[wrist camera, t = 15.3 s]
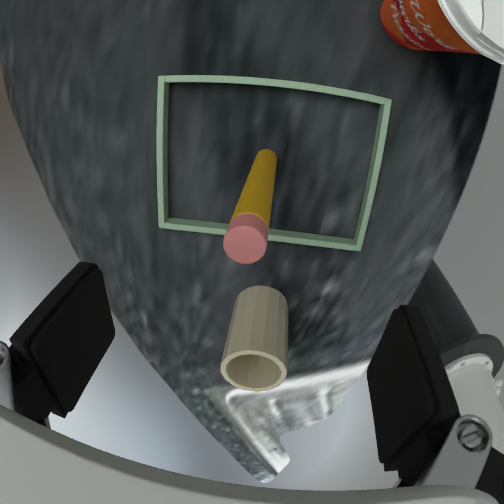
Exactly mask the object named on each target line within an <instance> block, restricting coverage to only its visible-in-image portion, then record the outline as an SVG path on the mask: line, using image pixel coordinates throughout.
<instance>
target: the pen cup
mask: <svg viewBox="0 0 504 504" xmlns="http://www.w3.org/2000/svg"><path fill="white" fill-rule="evenodd" d="M287 357H288V303H287V300H286V298H285V297H284V296H283V295H282V294H281V293H280V292H279V291H278V290H276V289H273V288H271V287H268V286H260V285H259V286H253V287H249V288H247V289H245V290H244V291H242V292H240V294H239V295H238V297H237V298H236V300H235V304H234V309H233V313H232V317H231V322H230V326H229V331H228V335H227V339H226V344H225V348H224V353H223V357H222V361H221V373H222V375H223V376H224V378H225V379H226V380H227V381H228V382H229V383H231V384H232V385H233V386H235V387H238V388H241V389H243V390H249V391H266V390H270V389H273V388H275V387H278V386H279V385H280V384H281V383H282V382H283V381H284V380H285V378H286V374H287Z"/></svg>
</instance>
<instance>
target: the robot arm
mask: <svg viewBox="0 0 504 504" xmlns="http://www.w3.org/2000/svg"><path fill="white" fill-rule="evenodd" d="M114 336H115V328H114V324H113V320H112V316H111V311H110V307H109V302H108V298H107V293H106V288H105V283H104V278H103V273H102V271H101V270H100V269H99V268H98V266H97V265H96V264H93V263H87V262H79V263H78V264H77V265H76V266H75V267H74V268H73V269H72V270H71V271H70V272H69V273H68V274H67V275H66V276H65V277H64V278H63V279H62V280H61V281H60V283H59V284H58V285H57V286H56V287H55V288H54V289H53V290H52V291H51V292H50V293H49V294H48V295H47V296H46V298H45V299H44V300H43V301H42V302H41V303H40V304H39V305H38V306H37V307H36V309H35V310H34V311H33V312H32V313H31V314H30V315H29V317H28V318H27V319H26V320H25V321H24V322H23V323H22V325H21V326H20V327H19V328H18V329H17V330H16V332H15V333H14V334H13V335H12V336H11V338H10V341H11V343H12V345H11V346H10V347H8V346H7V344H6V343H4V342H2V341H0V504H504V411H503V409H502V406H501V403H500V401H499V399H498V396H499V394H500V391H501V390H500V386H502V384H503V380H502V379H496V380H494V379H493V377H492V374H491V373H492V369H493V363H492V361H491V358H490V357H489V356H488V355H486V354H484V353H473V354H468V355H465V356H462V357H460V358H458V359H456V360H454V361H452V362H451V363H449V364H447V365H446V366H445V367H444V365H443V363H442V360H441V358H440V355H439V353H438V350H437V348H436V345H435V343H434V340H433V338H432V336H431V333H430V331H429V329H428V326H427V324H426V322H425V320H424V317H423V315H422V313H421V311H420V309H419V307H417V306H409V305H400V306H399V308H398V309H394V310H393V312H392V314H391V317H390V319H389V322H388V324H387V326H386V329H385V331H384V333H383V335H382V338H381V340H380V342H379V344H378V347H377V349H376V351H375V353H374V355H373V357H372V359H371V362H370V364H369V366H368V369H367V380H368V386H369V392H370V398H371V405H372V411H373V418H374V425H375V433H376V440H377V448H378V457H379V461H380V463H384V471H396V470H398V474H399V479H398V481H397V482H396V484H395V485H394V486H393V488H390V489H375V490H349V491H309V490H307V491H306V490H288V489H275V488H274V489H273V488H264V487H254V486H245V485H238V484H232V483H225V482H219V481H213V480H208V479H203V478H197V477H192V476H188V475H183V474H179V473H175V472H170V471H167V470H163V469H159V468H155V467H152V466H148V465H145V464H141V463H138V462H134V461H131V460H128V459H125V458H122V457H119V456H116V455H113V454H110V453H108V452H105V451H102V450H99V449H96V448H94V447H91V446H89V445H86V444H84V443H81V442H79V441H76V440H74V439H71V438H69V437H67V436H65V435H62V434H60V433H58V432H56V431H54V430H51V427H50V423H49V418H48V416H49V414H50V412H52V413H53V414H56V415H58V416H60V417H63V418H65V417H66V415H67V413H68V412H71V411H72V410H73V409H74V407H75V406H76V404H77V402H78V400H79V398H80V396H81V395H82V393H83V391H84V389H85V387H86V385H87V384H88V382H89V380H90V379H91V377H92V375H93V373H94V371H95V370H96V368H97V366H98V365H99V363H100V361H101V359H102V358H103V356H104V354H105V353H106V351H107V349H108V348H109V346H110V344H111V343H112V341H113V339H114Z"/></svg>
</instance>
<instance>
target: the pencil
mask: <svg viewBox="0 0 504 504" xmlns="http://www.w3.org/2000/svg"><path fill="white" fill-rule="evenodd" d="M276 164H277V156H276V154H275V153H274V152H273V151H272V150H269V149H263V150H261V151H260V152H259V153H258V154H257V156H256V158H255V161H254V163H253V166H252V168H251V171H250V173H249V176H248V178H247V181H246V183H245V186H244V188H243V191H242V193H241V196H240V198H239V201H238V203H237V206H236V208H235V211H234V213H233V216H232V219H231V221H230V224H229V226H228V229H227V231H226V234H225V237H224V240H223V246H224V250H225V252H226V254H227V255H228V256H229V257H230V258H231V259H232V260H234V261H235V262H238V263H242V264H250V263H254V262H256V261H258V260H259V259H261V258H262V257H263V255H264V254H265V251H266V247H267V239H268V231H269V223H270V215H271V206H272V198H273V189H274V181H275V172H276Z"/></svg>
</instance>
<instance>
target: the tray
mask: <svg viewBox="0 0 504 504" xmlns="http://www.w3.org/2000/svg"><path fill="white" fill-rule="evenodd" d="M169 82H213V83H236V84H252V85H264V86H274V87H284V88H292V89H300V90H308V91H315V92H321V93H327V94H333V95H339V96H345V97H350V98H355V99H360V100H365V101H370V102H374V103H379V104H380V109H379V115H378V122H377V128H376V134H375V140H374V146H373V152H372V157H371V162H370V168H369V173H368V178H367V183H366V188H365V192H364V197H363V202H362V206H361V211H360V215H359V219H358V224H357V228H356V232H355V236H354V239H348V238H340V237H333V236H325V235H317V234H309V233H301V232H293V231H285V230H277V229H269V231H268V239H267V240H271V241H279V242H287V243H296V244H304V245H312V246H320V247H328V248H336V249H344V250H352V251H361V248H362V244H363V240H364V236H365V232H366V228H367V224H368V220H369V216H370V212H371V208H372V203H373V199H374V195H375V190H376V185H377V181H378V176H379V171H380V166H381V161H382V156H383V151H384V145H385V140H386V134H387V128H388V122H389V116H390V109H391V102H392V100H391V99H388V98H384V97H379V96H375V95H370V94H366V93H361V92H356V91H351V90H346V89H340V88H335V87H329V86H323V85H316V84H309V83H302V82H294V81H286V80H277V79H266V78H254V77H239V76H214V75H171V76H158V98H157V193H158V217H159V228H165V229H174V230H183V231H192V232H201V233H210V234H219V235H225V234H226V231H227V229H228V226H229V224H225V223H215V222H206V221H197V220H187V219H177V218H169V216H168V105H169Z"/></svg>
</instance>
